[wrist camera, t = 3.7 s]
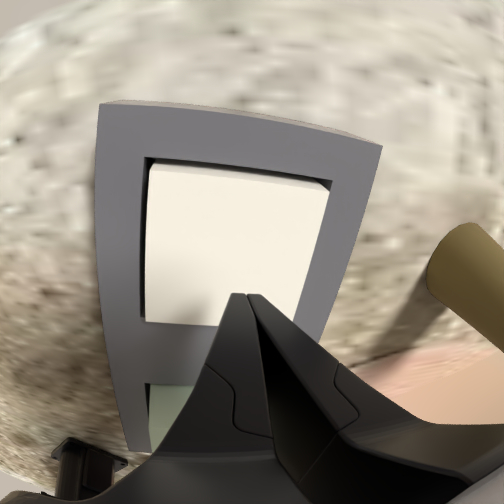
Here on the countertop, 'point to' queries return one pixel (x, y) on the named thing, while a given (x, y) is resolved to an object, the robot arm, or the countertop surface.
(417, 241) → the countertop surface
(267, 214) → the cream key
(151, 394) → the sage key
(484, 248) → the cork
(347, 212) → the key panel
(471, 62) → the countertop surface
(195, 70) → the countertop surface
